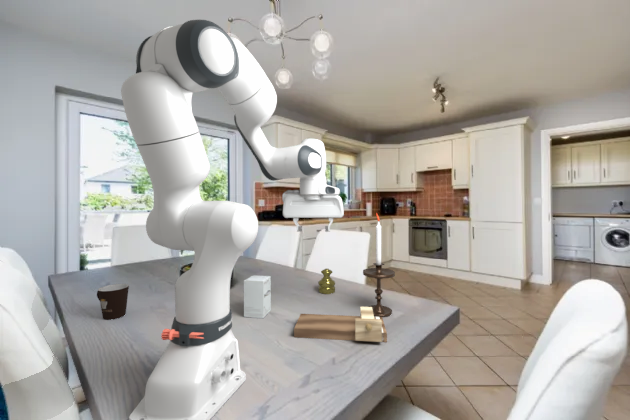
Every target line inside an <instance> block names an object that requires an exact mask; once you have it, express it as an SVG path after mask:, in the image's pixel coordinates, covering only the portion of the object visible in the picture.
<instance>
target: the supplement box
mask: <svg viewBox="0 0 630 420" xmlns="http://www.w3.org/2000/svg"><path fill="white" fill-rule="evenodd" d="M271 278H272V277H271V275H251V276H249V277H248V278H246V279H244V280H243V317H244V318H254V319H264V318H265V317H266V316H267V314H269V313H270V312H271V310H272V300H271V299H272V293H271V292H272V289H271V288H272V279H271Z"/></svg>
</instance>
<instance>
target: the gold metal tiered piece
mask: <svg viewBox="0 0 630 420" xmlns="http://www.w3.org/2000/svg"><path fill="white" fill-rule="evenodd" d="M320 272H321V274H322V275H323V276H322V278H321V279H319V281H317V282H318V292H319V293H320V294H323V295H330V294H331V293H332V294H334V293H335V292H336V286H335V285H336V281H335V280H334V279H333V278H332V277H331V275H332V274H333V270H331V269H329V268H324V269H322V270H321V271H320Z"/></svg>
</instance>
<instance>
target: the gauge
mask: <svg viewBox="0 0 630 420" xmlns="http://www.w3.org/2000/svg"><path fill="white" fill-rule="evenodd" d="M359 311H360V312H359V313H360V315H359V316H360V318H355V340H356V342H372V341H374V342H377V343H383V342H382V321H381V319H375V318H374V314H373V309H372V307H368V306H360V309H359ZM374 342H373V343H374Z"/></svg>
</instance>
